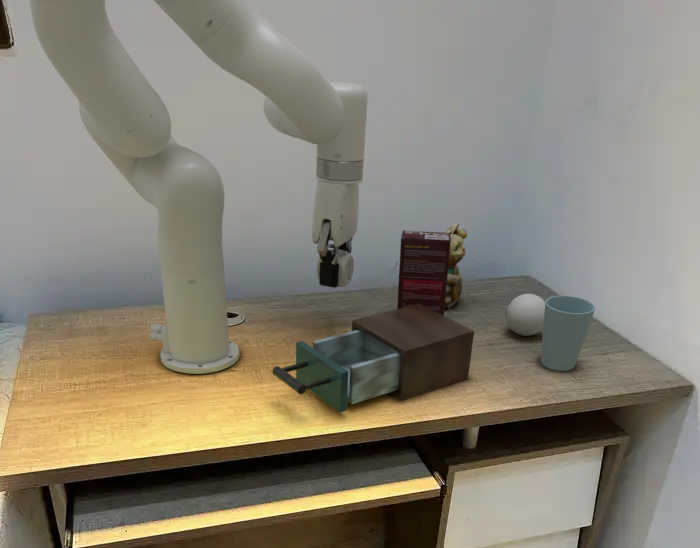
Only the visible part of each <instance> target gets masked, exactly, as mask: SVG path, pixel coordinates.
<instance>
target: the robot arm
mask: <svg viewBox="0 0 700 548" xmlns="http://www.w3.org/2000/svg"><path fill="white" fill-rule="evenodd" d="M153 2H154V3H155V4H156V5H157V6H158V7H159V8H160V9H161V10H162V11H163V12H164V13H165V14H166V16H167V17H169V19H171V20H172V21H173V22H174V23H175V25H177V26H178V27H179V28H180V30H182V31H183V33H184V34H185V35H186V36H187V37H188V38H189V39H190V40H191V41H192V42H193V43H194V44H195V45H196V46H197V48H198V49H199V50H200V51H201V52H202V53H203V54H204V55H205V56H206V57H207V58H208V59H209V60H210V61H211V62H213V63H214V64H216V65H217V66H218V67H219V68H221V69H222V70H224V71H225V72H226V73H228V74H230V75H232V76H234V77H236V78H237V79H239V80H241V81H243V82H245V83H247V84H249V85H250V86H252V87H253V88H254V89H256V90H257V91H259V92H260V93H261V94H263V95H264V96H265V97H264V99H263V100H264V101H263V111H264V115H265V118H266V120H267V122H268V124H270V125H271V127H272V128H274V129H275V130H276V131H278V132H279V133H281V134H284V135H286V136H289V137H291V138H294V139H298V140H301V141H304V142H307V143H309V144H312V145H316V161H315V162H316V165H315V167H316V168H315V169H316V170H315V179H316V180H317V183H316V187H315V193H314V203H313V214H312V228H311V230H312V231H311V241H312V243H313V244H315V245H316V244H317V247H316V251H317V253H318V255H319V256H320V258H319V256H318V259H319V262H320V278H319V279H318V283H319V285H320V286H322V287H328V288H334V289H336V288H338V287H337V286H338V275H339V264H337V259H338V252H339V250H343V251H347V252H349V253H350V254H351V253H352V250H353V249H352V248H353V245H352V241H353V237H354V236H355V235H356V233H357V232H358V231H357V230H358V224H359V206H360V204H359V203H360V201H359V200H360V186H359V185H360V183H362V182H363V180H364V166H365V165H364V164H365V148H366V147H365V146H366V133H367V132H366V131H367V116H368V115H367V114H368V102H369V101H368V97H369V96H368V91H367V89H366V87H365V86H364V85H362V84H359V83H355V82H349V81H328V79H327V78H326V76H324V74H323V73H322V72H321V70H319V68H318V67H317V65H316V64H314V62H313V61H312V60H311V59H310V58H309V57H308V56H307V55H306V54H305V53H304V52H303V51H302V50H300V49H299V48H298V47H297V45H295V44H294V43H293V42H292V41H290V40H289V39H288V38H287V37H285V36H284V34H282V33H281V32H280V31H279V30H277V28H276V27H275V26H273V24H271V22H269V21H268V20H267V19H266V18H264V17H263V16H262V15H261V14H259V13H258V12H257V11H256V10H255V9H254V8H253V6H251V4H249V2H248V1H247V0H153ZM29 3H30V11H31V18H32V23H33V27H34V30H35V33H36V37H37V39H38V41H39V44H40V46H41V48H42V50H43V52H44V54H45V55H46V57H47V58H48V60H49V62H50V63H51V65H52V66H53V68H54V69H55V70H56V73H58V75H59V76H60V77H61V78H62V80H63V81H64V82H65V84H66V85H67V86H68V88H69V89H70V91H71V92H72V93H73V95H74V96H75V97H76V99H77V100H78V110H79V114H80V119H81V121H82V124H83V126H84V127H85V130H86V131H87V133H88V134H89V135H90V137H91V139H92V140H93V141H94V142H95V143H96V145H97V146H98V147H99V148H100V150H101V151H102V152H103V153H104V154H105V156H106V157H107V158H108V159H109V161H110V162H111V163H112V164H113V165H114V167H115V168H116V170H118V172H119V173H120V174H121V175H122V176H123V178H124V179H125V180H126V182H128V184H129V185H130V186H131V187H132V188H133V189H134V190H135V192H136V193H137V194H138V195H139V196H140V197H141V198H142V199H144V201H146V202H148V203H149V204H151V205H152V206H154V207H155V208H156V209H157V213H158V221H157V235H156V236H157V243H156V245H157V255H158V264H159V270H160V278H161V287H162V298H163V305H164V315H165V322H166V325H164V324H160V323H156V322H153V323H151V325H150V328H149V333H148V339H149V340H150V341H152V342H153V341H154V342H161V344H162V346H163V347H162V348H161V350H160V353H159V356H160V362H161V363H162V365H163V366H165V368H167V369H169V370H171V371H174V372H176V373H177V372H178V373H182V374H189V375H190V374H191V375H201V374H210V373H217V372H219V371H223V370H225V369H228V368H230V367H232V366H233V365H235V364H236V363H237V362H238V360H239V359H240V348H239V345H237V343H236V342H234V341H233V340H231V339H230V336H229V321H228V320H229V319H228V308H227V306H228V305H227V293H226V291H227V289H226V278H225V275H226V274H225V262H224V249H223V222H224V221H223V220H224V218H223V217H224V210H225V198H226V197H225V187H224V182H223V179H222V177H221V175H220V172H219V171H218V169H217V168H216V166H214V164H213V163H212V162H211V161H210V160H209V159H208V158H207V157H205V156H203V155H202V154H201V153H199V152H197V151H195V150H192V149H190V148H187V147H186V146H183V145H181V144H179V143H178V142H177V140H175V138H174V137H173V135H172V120H171V116H170V113H169V110H168V108H167V106H166V104H165V103H164V101H163V99H162V98H161V97H160V95H159V93H158V92H157V91H156V90H155V88H154V87H153V86H152V85H151V83H150V82H149V80H148V79H147V77H145V75H144V74H143V73H142V71H141V70H140V69H139V67H138V66H137V64H136V63H135V60H133V58H132V57H131V56H130V54H129V52H128V51H127V50H126V48H125V47H124V45H123V44H122V42H121V41H120V39H119V37H118V35H117V34H116V33H115V31H114V29H113V27H112V25H111V22H110V19H109V17H108V13H107V9H106V7H107V6H106V0H29ZM330 241H332V242H333V243H329V242H330ZM330 249H333V255H332V252H331V251H329V250H330Z"/></svg>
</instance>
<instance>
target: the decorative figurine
mask: <svg viewBox="0 0 700 548" xmlns="http://www.w3.org/2000/svg"><path fill="white" fill-rule="evenodd" d="M459 226H460V223H458V222H455V223H452V224H450V225H449V226H448V228H447V229H446V230H445V231H444V232H443V233H450V238H451V244H450V255H449V266H448V277H447V288H446V299H445V309H450V308H451V307H453V306H454V305H455V304H456V303H457V302H458V300H459V299H460V297H461V294H462V292H463V282H464V281H463V274H462V273H461V272H460V269H459V266H458V265H457V264H459V263H460V262H461V261H462V260H463V258H464V257H465V255H466V253H467V252H466V248H465V246H464V239H467V238H468V231H467V230H466V229H465V228H462V227H459Z"/></svg>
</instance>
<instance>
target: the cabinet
mask: <svg viewBox="0 0 700 548" xmlns="http://www.w3.org/2000/svg"><path fill="white" fill-rule="evenodd" d="M359 329H360V330H361V331H363V332H365V333H366V334H368V335H370V336H371V337H373V338H375V339H376V340H378V341H380V342H382V343H383V344H385V345H387V346H388V347H390V348H392V349H393V350H395V351H397V352H399V353H400V354H401V365H400V378H399V389H398V390H395V391H392V392H389V393H388V394H390V395H392V396H393V397H395V398H397V399H398V400H399V401H404V400H408V399H410V398H414V397H417V396H420V395H422V394H426V393H429V392H432V391H434V390H438V389H441V388H445V387H446V386H449V385H452V384H456V383H459V382H462V381H465V380H468V379H469V374H470V365H471V360H472V359H471V358H472V351H473V343H474V336H475V331H474V330H473V329H470V328H469V327H467V326H464V325H463V324H460V323H458V322H457V321H455V320H453V319H451V318H449V317H447V316H445V315H444V316H443V315H441V314H439V313H437V312H435V311H433V310H431V309H429V308H427V307H425V306H423V305H421V304H416V305H412V306H408V307H404V308H400V309H397V308H396V309H392V310H388V311H385V312H379V313H376V314H372V315H369V316H364V317H360V318H355V319H353V320H351V331H355V330H359Z"/></svg>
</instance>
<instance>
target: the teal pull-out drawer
mask: <svg viewBox="0 0 700 548" xmlns="http://www.w3.org/2000/svg"><path fill="white" fill-rule="evenodd" d="M400 365H401V354H400V353H399V352H397V351H395V350H393V349H392V348H390V347H388V346H387V345H385V344H383V343H382V342H380V341H378V340H376V339H375V338H373V337H371V336H370V335H368V334H366V333H365V332H363V331H361V330H360V329H359V330H355V331H352V330H350V331H348V332H347V331H346V332H344V333H339V334H336V335H332V336H328V337H324V338H321V339H317V340H313V341H312V346H311V344H308V343H306V342H305V341H303V340H299V341H296V342H295V363H294V364H291V365H287V366H284V367H281V366H279V365H276V366H274V367H273V369H272V375H274V376H275V377H276V378H278V380H280V381H282V382H283V383H284V384H285V385H287V386H288V387H289V388H291V389H292V390H293V391H295V392H296V393H297V394H299V395H304V394H305V393H306V392H307V390H309V391H310V392H311V393H313V394H314V395H316V396H317V397H318V398H320V399H321V400H322V401H324V402H325V403H327V404H328V405H329V406H330V407H332V408H333V409H334V410H336V411H337V412H339V413H340V414H341V413H344V412H347V411H348V403H349V404H351V405H355V404H358V403H361V402H364V401H367V400H370V399H373V398H376V397H379V396H383V395H386V394H390V393H389V392H392V391H395V390H398V389H399V378H400ZM293 371H295V377H294V376H293V375H291V373H290V372H293Z"/></svg>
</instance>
